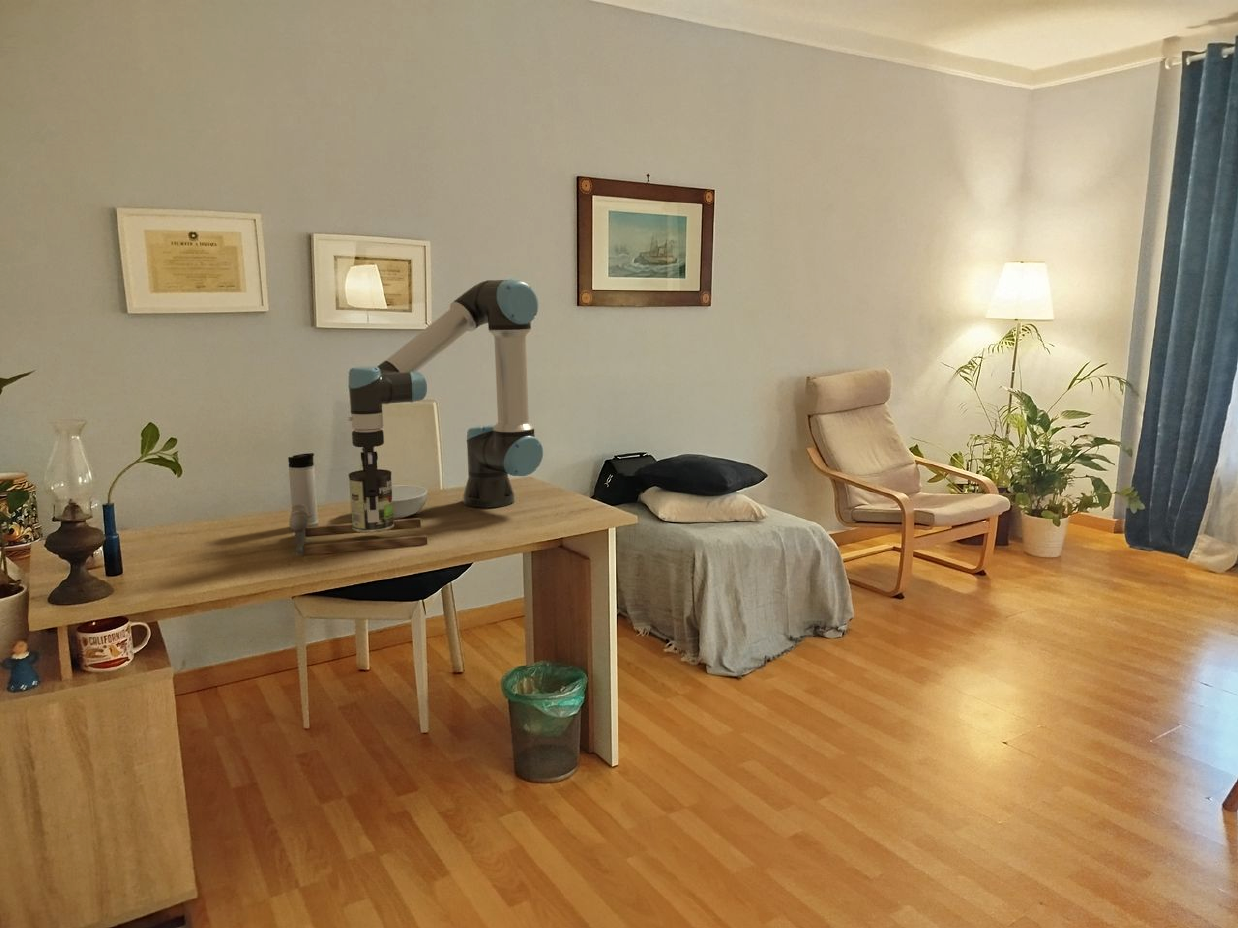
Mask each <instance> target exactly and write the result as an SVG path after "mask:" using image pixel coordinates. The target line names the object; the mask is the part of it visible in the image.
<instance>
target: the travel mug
mask: <svg viewBox="0 0 1238 928" xmlns="http://www.w3.org/2000/svg"><path fill="white" fill-rule="evenodd" d="M314 456H315V453H314V452H310V453H309V452H307V453H302V454H301V453H300V454H296V455H295V454H294V455H292V456H289V457H288V458H287V460H288V461H287V462H288V475H289V477H288V478H289V484H290V485H289V487H290V498H291V499H290V500H291V501H290V502H291V503H290V504H291V509H292V508H293V507H294V506H295V505H297V504H304V505H305V506H307V508H308V520H307V526H306V527H310V526H319V520H318V519H319V518H318V504H317V503H318V502H317V491H316V490H317V489H316V488H317V487H316V486H317V485H316V475H315V465H314V464H315V463H314V462H315V461H314Z"/></svg>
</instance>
